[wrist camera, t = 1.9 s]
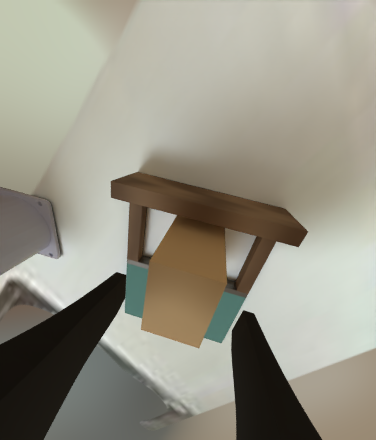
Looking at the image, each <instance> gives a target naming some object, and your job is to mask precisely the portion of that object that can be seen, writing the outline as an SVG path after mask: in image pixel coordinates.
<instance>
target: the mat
mask: <svg viewBox="0 0 376 440" xmlns="http://www.w3.org/2000/svg"><path fill="white" fill-rule="evenodd" d="M147 277H148V269H145V268H142V267H138V266H135V265H131V264H128V263H127V276H126V299H125V313H127V314H130V315H133V316H137V317H140V318H142V317H143V309H144V301H145V293H146V285H147ZM245 299H246V298H244V297H241V296H237V295H234V294H230V293H227V292H223V294H222V297H221V299H220V301H219V303H218V306H217V308H216V310H215V313H214V315H213V317H212V320H211V322H210V324H209V326H208V329H207V331H206V333H205V336H204V338H206V339H209V340H213V341H216V342H219V343H222V341H223V339H224V338H225V336H226V334H227V332H228V330H229V328H230V326H231V325H232V323H233V321H234V319H235V317H236V315H237V313H238V312H239V310H240V308H241V306H242V304H243V302H244V300H245Z"/></svg>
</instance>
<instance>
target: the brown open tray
mask: <svg viewBox="0 0 376 440" xmlns="http://www.w3.org/2000/svg"><path fill="white" fill-rule="evenodd" d="M111 198H114V199H118V200H122V201H126V202H130V207H129V230H128V253H127V263H128V264H131V265H135V266H138V267H142V268H145V269H149V261H150V259H151V258H150V257H147V256H143V255H142V254H143V244H144V233H145V223H146V213H147V207H149V208H152V209H156V210H160V211H164V212H167V213H171V214H175V215H179V216H183V217H186V218H190V219H194V220H198V221H202V222H205V223H209V224H213V225H217V226H220V227H224V228H228V229H232V230H236V231H239V232H243V233H247V234H251V235H255V236H257V237H256V239H255V241H254V243H253V245H252V248H251V250H250V252H249V254H248V256H247V258H246V260H245V263H244V265H243V267H242V269H241V271H240V273H239V276H238V278H237V280H236V282H234V281H230V280H227V285H226V287H225V290H224V292H227V293H230V294H234V295H237V296H241V297H244V298H246V297H247V295H248V293H249V291H250V289H251V288H252V286H253V284H254V282H255V280H256V278H257V276H258V275H259V273H260V271H261V269H262V267H263V265H264V263H265V262H266V260H267V258H268V256H269V254H270V252H271V250H272V249H273V247H274V245H275V243H276V241H277V242H281V243H285V244H289V245H292V246H296V247H299V246H300V244H301V242H302V241H303V239H304V238H305V236H306V234H307V233H308V231H307V230H306V229H305V228H304V227H303V226H302V225H301V224H300V223H299V222H298V221H297V220H296V219H295V218H294V217H293V216H292V215H291V214H290V213H289V212H288V211H287V210H286V209H284V208H280V207H276V206H272V205H268V204H264V203H260V202H256V201H252V200H248V199H244V198H240V197H236V196H232V195H228V194H224V193H220V192H216V191H212V190H207V189H203V188H199V187H195V186H191V185H187V184H183V183H179V182H175V181H171V180H167V179H163V178H159V177H155V176H151V175H147V174H143V173H139V172H136V173H133V174H130V175H127V176H124V177H121V178H118V179H116V180H113V181H111Z"/></svg>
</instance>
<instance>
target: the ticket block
mask: <svg viewBox="0 0 376 440" xmlns="http://www.w3.org/2000/svg"><path fill="white" fill-rule="evenodd" d="M226 285H227V271H226V249H225V228H224V227H220V226H217V225H213V224H209V223H205V222H202V221H198V220H194V219H190V218H186V217H183V216H179V215H177V217H176V218H175V220H174V221H173V223H172V225H171V226H170V228H169V230H168V231H167V233H166V235H165V236H164V238H163V240H162V241H161V243H160V245H159V246H158V248H157V250H156V251H155V253H154V254H153V256H152V258H151V259H150V261H149V269H148V277H147V285H146V293H145V301H144V309H143V317H142V325H141V330H144V331H147V332H150V333H153V334H156V335H159V336H163V337H166V338H169V339H172V340H175V341H178V342H181V343H184V344H187V345H190V346H194V347H197V348H199V347H200V345H201V342H202V340H203V338H204V336H205V333H206V331H207V329H208V326H209V324H210V322H211V320H212V317H213V315H214V313H215V310H216V308H217V306H218V303H219V301H220V299H221V297H222V294H223V292H224V290H225V287H226Z"/></svg>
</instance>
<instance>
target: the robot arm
mask: <svg viewBox="0 0 376 440" xmlns="http://www.w3.org/2000/svg"><path fill="white" fill-rule="evenodd" d="M37 253H38V254H41V255H45V256H48V257H51V258H55V259H58V258H60V257H61V254H60V249H59V243H58V238H57V233H56V228H55V222H54V217H53V212H52V207H51V203H50V202H49V201H48V200H46V199H43V198H39V197H35V196H32V195H28V194H24V193H20V192H17V191H13V190H9V189H6V188H2V187H0V275H2V274H3V273H5V272H7V271H8V270H10V269H12V268H13V267H15V266H17V265H18V264H20V263H22V262H23V261H25V260H27V259H28V258H30V257H32V256H33V255H35V254H37ZM125 294H126V275H124V274H121V273H118V272H117V273H115V274H113V275H112V276H111V277H109V278H108V279H107V280H105V281H104V282H103V283H101V284H100V285H99V286H97V287H96V288H94V289H93V290H92V291H90V292H89V293H87V294H86V295H84V296H83V297H82V298H80V299H79V300H77V301H76V302H74V303H72V304H71V305H69V306H68V307H66V308H65V309H63V310H62V311H60V312H58V313H57V314H55V315H53V316H52V317H50V318H48V319H47V320H45V321H43V322H41V323H40V324H38V325H36V326H34V327H33V328H31V329H29V330H27V331H25V332H24V333H21V334H20V335H18V336H16V337H14V338H12V339H10V340H8V341H6V342H4V343H2V344H0V440H44V438H45V436H46V434H47V432H48V430H49V428H50V426H51V424H52V422H53V421H54V419H55V416H56V415H57V413H58V411H59V409H60V407H61V406H62V404H63V402H64V400H65V398H66V396H67V394H68V393H69V391H70V389H71V387H72V385H73V383H74V382H75V379H76V378H77V376H78V374H79V373H80V371H81V369H82V367H83V366H84V364H85V362H86V361H87V359H88V357H89V356H90V354H91V353H92V351H93V350H94V348H95V347H96V345H97V344H98V342H99V341H100V339H101V337H102V336H103V334H104V333H105V331H106V330H107V328H108V327H109V325H110V324H111V322H112V321H113V319H114V318H115V316H116V314H117V313H118V311H119V309H120V307H121V305H122V303H123V301H124V299H125ZM231 352H232V366H233V379H234V391H235V404H236V430H237V431H236V433H237V434H236V435H237V437H236V440H322V439H321V437H320V436H319V434H318V432H317V431H316V429H315V427H314V426H313V424H312V423H311V421H310V419H309V418H308V416H307V414H306V413H305V411H304V409H303V408H302V406H301V404H300V403H299V401H298V399H297V397H296V396H295V394H294V392H293V390H292V388H291V387H290V385H289V383H288V381H287V379H286V378H285V376H284V374H283V372H282V370H281V368H280V366H279V364H278V362H277V360H276V358H275V356H274V354H273V352H272V350H271V348H270V346H269V344H268V342H267V340H266V338H265V336H264V334H263V332H262V330H261V327H260V325H259V323H258V321H257V319H256V317H255V315H254V313H251V312H247V311H244V310H243V312H242V314H241V315H240V317H239V319H238V321H237V323H236V324H235V326H234V328H233V330H232V347H231Z"/></svg>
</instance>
